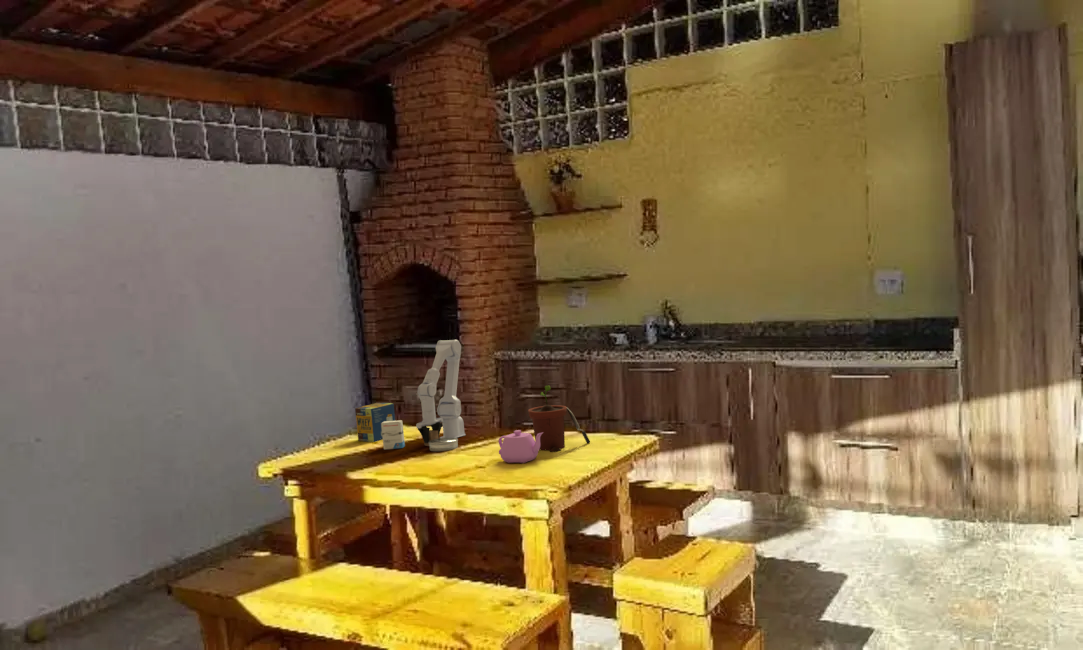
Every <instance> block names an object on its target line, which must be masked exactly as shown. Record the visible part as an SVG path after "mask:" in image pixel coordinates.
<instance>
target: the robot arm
mask: <svg viewBox="0 0 1083 650" xmlns="http://www.w3.org/2000/svg"><path fill="white" fill-rule="evenodd" d="M435 352H436V354H435V357H434V360H433V363H432V367H431V368H429V369H427V372H426V374H425V377H424V379H423V381H422V383H421V384H419V385H418V387H417V391H416V392H417V396H418V397H419V400H420V403H421V412H422V413H421V414H422V420H421V421H420V422H418V423H416V424H415V425H416V426H415V427H416V429H417V430H418V431H419V434H420V435H421V437H422V440H423V443H429V430H438V437H439V438H457V439H458V438H460V437H461V438H462V437H464V436H466V435H467V434H466V432H465V423H464V419H463V418H462V417H461V416H460V415H461V413H462V405H461V403H462V402H461V399H460V398H458V396H457V391H458V389H457V388H458V382H459V381H458V380H459V372H460V371H459V369H460V359H461V356H462V355H461V354H462V344H461V343H460V341H459V340H458V339H449V340H448V339H447V340H441V339H440V340H438V341H437V343H436V345H435ZM445 360H446V362H447V364H446V373H445V385H444V386H445V387H444V394H443V397H441V398H440V399H439V401H438V406H437V408H436V404H435V395H436V394H437V387H438V385H437V384H438V381H439V380H440V379H439V378H440V376H441V373H440V369H441V368H442V366H443V364H444V362H445ZM436 412H437V415H438V416H439V417H437V415H436ZM428 426H431V427H428ZM430 428H431V429H430ZM441 430H442V432H443V436H440V434H441Z"/></svg>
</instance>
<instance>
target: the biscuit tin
mask: <svg viewBox="0 0 1083 650" xmlns="http://www.w3.org/2000/svg"><path fill="white" fill-rule="evenodd" d="M458 441H459V439H458V438H440V437H439V439H434V440H431V441H429V446H428V447H429V451H431V452H446V451H451V450H452V451H453V450H455V449H458V448H459V444H458V443H459V442H458Z"/></svg>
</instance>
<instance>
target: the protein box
mask: <svg viewBox="0 0 1083 650" xmlns="http://www.w3.org/2000/svg"><path fill="white" fill-rule="evenodd" d="M354 409H355V421H356V422H355V423H356V432H357V440H358V442H367V443H368V442H370V443H376V442H379V441H383V437H382V427H381V423H382V422H384V421H396V414H395V404H394V403H392V402H390V403H389V402H375V403H371V404H368V405H363V406H360V407H355V408H354Z"/></svg>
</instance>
